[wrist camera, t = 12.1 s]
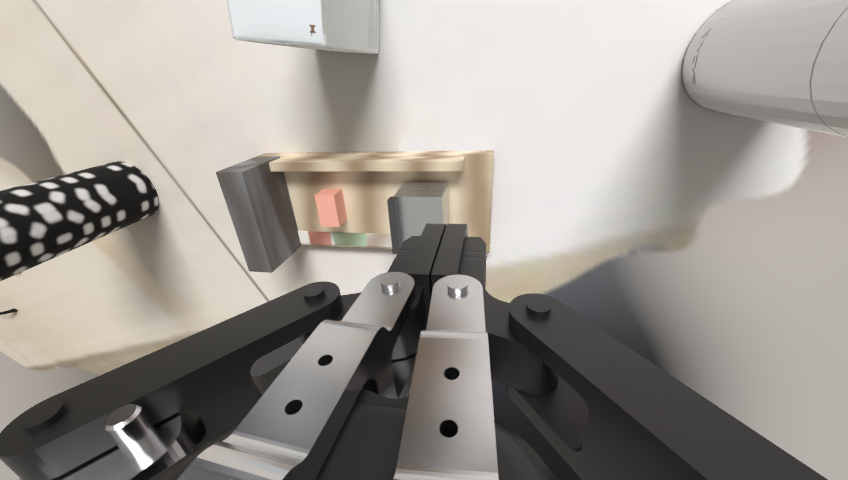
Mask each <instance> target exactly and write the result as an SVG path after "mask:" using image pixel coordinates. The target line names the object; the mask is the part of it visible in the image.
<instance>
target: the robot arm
mask: <svg viewBox="0 0 848 480" xmlns="http://www.w3.org/2000/svg"><path fill="white" fill-rule="evenodd" d="M682 73H683V83H684V86H685V89H686V91H687V93H688V94H689V96H690V97H691V99H692V100H693V101H695V102H696V103H697V104H698V105H700V106H702V107H705V108H707V109H709V110H714V111H719V112H724V113H729V114H734V115H738V116H743V117H748V118H752V119H757V120H762V121H767V122H772V123H777V124H782V125H787V126H792V127H797V128H802V129H807V130H812V131H817V132H822V133H827V134H832V135H838V136H842V137H848V0H733V1H730V2H729V3H728V4H726V5H725V6H723V7H722V8H720V9H719V10H717V11H716V12H715V13H714V14H713V15H712V16H711V17H710V18H709V19H708V20H706V21H705V23H704V24H703V25H702V26H701V28H700V29H699V30H698V31H697V33H696V34H695V36H694V38H693V39H692V41H691V43H690V45H689V47H688V49H687V52H686V55H685V58H684V63H683V69H682ZM485 284H486V243H485V242H484V241H483V239H482V238H481V237H468V229H467V224H447V225H446V224H435V223H427V224H426V225H425V228H424V230H423V232H422V234H421V236H411V237H410V238H408V239H407V240H406V241H404V242H403V244H402V246H401V248H400V251H399V252H398V254H397V257H395V259H394V261H393V263H392V265H391V267H390V269H389V271H388V272H387V273H383V274H380V275H378V276H376V277H374V278H373V279H372V280H371V281H370V282H369V283H368V284H367V286H366V287H365V288H364V290H363V291H362V292H361V293H356V294H349V295H342V296H341V295H340V290H339V287H338V286H337V285H336V284H334V283H331V282H316V283H311V284H308V285H306V286H303V287H301V288H299V289H296V290H294V291H292V292H290V293H287V294H285V295H283V296H280V297H278V298H276V299H274V300H271V301H269V302H267V303H265V304H262V305H260V306H258V307H255V308H253V309H251V310H249V311H246V312H244V313H242V314H239V315H237V316H235V317H233V318H230V319H228V320H226V321H224V322H221V323H219V324H217V325H214V326H212V327H210V328H208V329H205V330H203V331H201V332H198V333H196V334H194V335H192V336H189V337H187V338H185V339H182V340H180V341H178V342H176V343H173V344H171V345H169V346H167V347H164V348H162V349H160V350H157V351H155V352H153V353H151V354H148V355H146V356H144V357H141V358H139V359H137V360H135V361H132V362H130V363H128V364H125V365H123V366H121V367H119V368H116V369H114V370H112V371H110V372H107V373H105V374H103V375H100V376H98V377H96V378H94V379H91V380H89V381H87V382H85V383H82V384H80V385H78V386H75V387H73V388H71V389H69V390H66V391H64V392H62V393H59V394H57V395H55V396H53V397H50V398H48V399H46V400H44V401H42V402H40V403H39V404H37V405H35V406H33V407H31V408H30V409H28V410H27V411H25V412H24V413H22V414H21V415H20V416H18V417H17V418H16V419H14V420H13V421H12V422H11V423H10V424H9V425H7V426H6V427H5V429H4V430H3V431H2V432H1V433H0V459H1V460H2V461H3V462H4V463H5V464H6V465H7V466H8V467H9V468H10V469H12V471H14V472H15V473H16V474H17V475H18V476H19V479H20V480H557V479H556V477H555V476H554V475H553V473H552V472H551V471H550V469H548V467H547V466H546V464H545V463H544V462H543V460H542V459H541V458H540V457H539V455H538V454H537V453H536V452H535V451H534V449H533V448H532V447H531V446H530V445H529V444H528V443H527V442H526V441H525V440H524V439H523V438H521V437H520V436H519V435H518V434H517V433H515V432H514V431H513V430H512V429H510V428H508V427H507V426H506V425H504V424H503V423H501V422H499V421H497V420H495V419H494V411H493V397H492V384H491V379H492V380H494V381H497V382H499V383H502V384H504V385H505V389H506V392H507V394H508V396H509V397H510V398H511V399H512V401H513V402H514V403H515V404H516V405H517V406H518V407H519V409H520V410H521V411H522V412H523V413H524V414H525V415H526V417H527V418H528V419H529V420H530V421H531V422H532V423H533V425H534V426H535V427H536V428H537V429H538V430H539V431H540V433H541V434H542V435H543V436H544V437H545V438H546V439H547V441H548V442H549V443H550V444H551V445H552V446H553V447H554V448H555V450H556V451H557V452H558V453H559V454H560V455H561V456H562V458H563V459H564V460H565V461H566V462H567V463H568V464H569V465H570V467H571V468H572V469H573V470H574V471H575V472H576V473H577V475H578V476H579V477H580V478H581V479H582V480H827V479H826V478H824V477H823V476H821V475H820V474H818V473H817V472H815V471H814V470H812V469H811V468H809V467H808V466H806V465H805V464H803V463H802V462H800V461H799V460H797V459H796V458H794V457H793V456H791V455H790V454H788V453H787V452H785V451H784V450H782V449H781V448H779V447H778V446H776V445H775V444H773V443H772V442H770V441H769V440H767V439H766V438H764V437H763V436H761V435H760V434H758V433H757V432H755V431H753V430H752V429H751V428H749V427H748V426H746V425H745V424H743V423H742V422H740V421H739V420H737V419H736V418H734V417H733V416H731V415H730V414H728V413H727V412H725V411H724V410H722V409H720V408H719V407H718V406H716V405H715V404H713V403H712V402H710V401H708V400H707V399H705V398H704V397H702V396H701V395H699V394H698V393H696V392H695V391H693V390H692V389H690V388H689V387H687V386H686V385H684V384H683V383H681V382H680V381H678V380H677V379H675V378H674V377H672V376H671V375H669V374H668V373H666V372H665V371H663V370H662V369H660V368H659V367H657V366H656V365H654V364H653V363H651V362H650V361H648V360H647V359H645V358H644V357H642V356H641V355H639V354H638V353H636V352H635V351H633V350H632V349H630V348H629V347H627V346H626V345H624V344H623V343H621V342H620V341H618V340H617V339H615V338H614V337H612V336H611V335H609V334H608V333H606V332H605V331H603V330H602V329H600V328H599V327H597V326H596V325H594V324H592V323H591V322H590V321H588V320H587V319H585V318H583V317H582V316H580V315H579V314H578V313H576V312H574V311H573V310H571V309H570V308H569V307H567V306H566V305H564V304H563V303H561V302H560V301H558V300H556V299H554V298H552V297H550V296H547V295H542V294H524V295H520V296H518V297H516V298H515V299H513V300H512V301H511V303H507V302H503V301H500V300H498V299H496V298H494V297H492V296H491V295H490V294H489V293H488V292H487V291H486V290H485ZM298 337H300V338H301V341H302V344H303V345H302V347H301V348H300V349H299V351H298V352H297V353H296V354H295V355H294V357H293V358H292V359H290V360H288V361H287V362H285V363H283V364H281V365H279V366H278V367H276V368H274V369H272V370H270V371H269V372H267V373H265V374H263V375H261V376H257V377H253V376H251V375H250V369H251V367H252V365H253V364H254V362H255V361H256V360H257V359H259V358H260V357H262V356H264V355H266V354H268V353H269V352H271V351H273V350H275V349H277V348H279V347H281V346H283V345H285V344H287V343H289V342H290V341H292V340H294V339H296V338H298ZM410 386H411V389H410ZM409 389H410V395H409V397H407V395H408V392H409Z"/></svg>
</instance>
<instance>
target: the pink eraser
mask: <svg viewBox="0 0 848 480" xmlns="http://www.w3.org/2000/svg"><path fill="white" fill-rule="evenodd" d="M315 200H316V205H317V210H318V214H319V219H320V224H321V226H323V227H340V226H341V225H342V224H343V223H344V222H345V221H346V220H347V215H346V209H345V203H344V198H343V192H342V189H322V190H321V191H320V192H318V193H317V194H315Z"/></svg>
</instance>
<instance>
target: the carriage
mask: <svg viewBox="0 0 848 480" xmlns="http://www.w3.org/2000/svg"><path fill="white" fill-rule="evenodd" d="M387 205H388V214H389V223H390V233H391V242H392V251H393V254H398V252H399V251H400V248H401V246H402V244H403V242H404V241H406V240H407V239H408V238H410V237H411V236H421V234H422V232H423V230H424V228H425V225H426V224H427V223H435V224H446V225H447V224H449V205H448V182H404V183H403V184H402V186H401V187H400V188H399V190H398V191H397V192H396V194H395V195H394V196H393V197H390V198H389V199H388V200H387Z"/></svg>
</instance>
